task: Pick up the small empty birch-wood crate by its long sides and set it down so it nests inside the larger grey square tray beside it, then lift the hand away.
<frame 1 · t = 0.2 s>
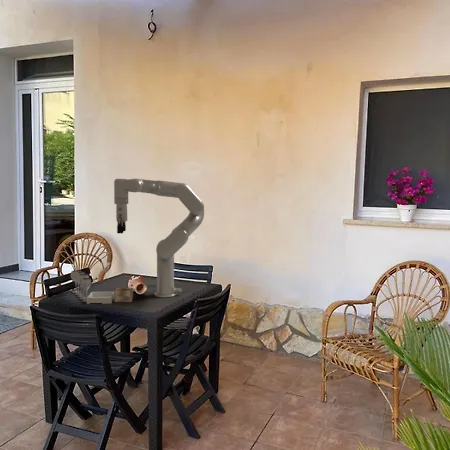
hand: (121, 232, 252), 36 cm above the table, tool pointing down, fingers open, 9 cm apart
goblet set: (81, 296, 252), on the table, touching grey square tray
grey square tray: (101, 300, 246), on the table
small crate: (123, 300, 247), on the table
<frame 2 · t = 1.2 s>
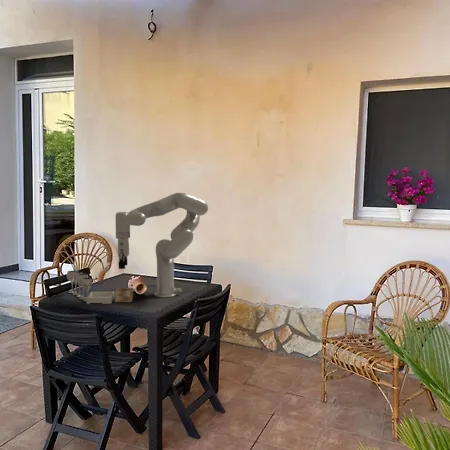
hand: (123, 266, 245), 18 cm above the table, tool pointing down, fingers open, 9 cm apart
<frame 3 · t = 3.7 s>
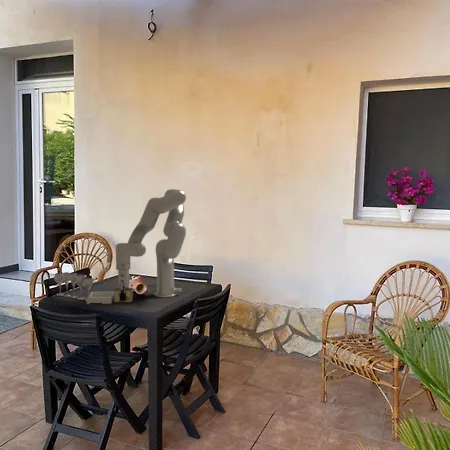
hand: (123, 298, 246), 1 cm above the table, tool pointing down, fingers closed on small crate, 6 cm apart
goblet set: (73, 297, 250), on the table, touching grey square tray
small crate: (123, 300, 247), on the table, touching gripper
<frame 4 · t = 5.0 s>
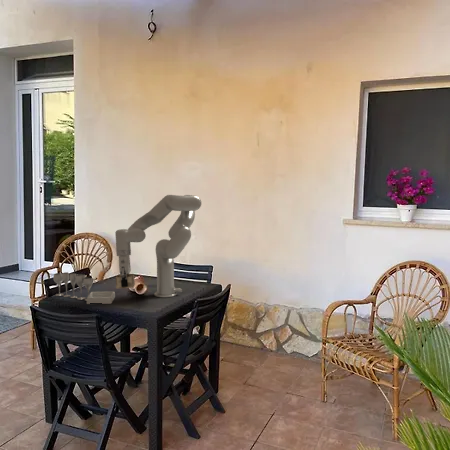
hand: (125, 284, 246), 8 cm above the table, tool pointing down, fingers closed on small crate, 6 cm apart
goblet set: (73, 297, 250), on the table, touching grey square tray
small crate: (125, 286, 246), point 7 cm above the table, touching gripper
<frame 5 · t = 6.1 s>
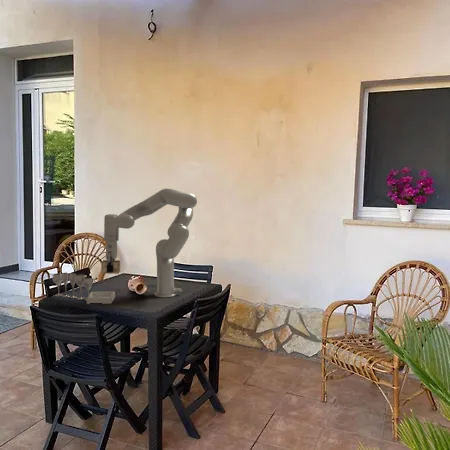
hand: (110, 270, 244), 16 cm above the table, tool pointing down, fingers closed on small crate, 6 cm apart
small crate: (110, 272, 244), point 15 cm above the table, touching gripper
everything else where it was.
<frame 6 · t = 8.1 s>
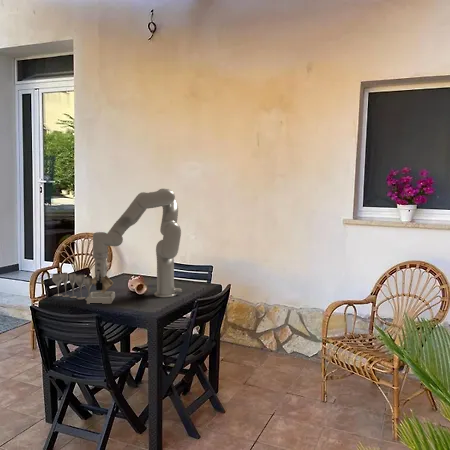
hand: (100, 288, 245), 7 cm above the table, tool pointing down, fingers closed on small crate, 6 cm apart
small crate: (98, 285, 244), point 8 cm above the table, tilted 48°, touching gripper
everything else where it was.
when the fingers open (5 cm above the table, at t = 9.0 s): small crate drops 6 cm, point 1 cm above the table.
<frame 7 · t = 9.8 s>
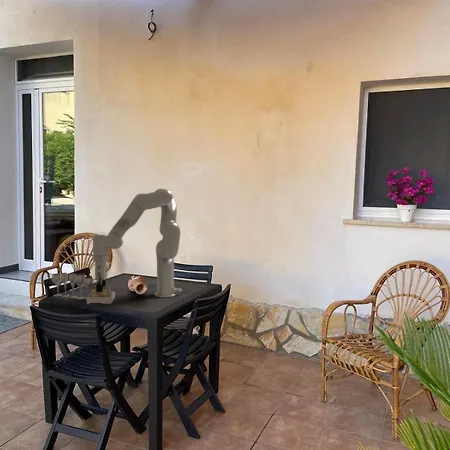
hand: (101, 289, 245), 6 cm above the table, tool pointing down, fingers open, 9 cm apart
small crate: (100, 298, 245), point 1 cm above the table
everything else where it was.
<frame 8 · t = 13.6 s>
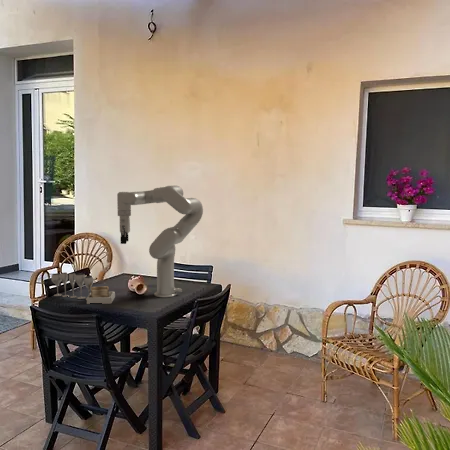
hand: (124, 242, 265), 28 cm above the table, tool pointing down, fingers open, 9 cm apart
small crate: (100, 299, 244), point 1 cm above the table, touching grey square tray
at the end: small crate 1.0 cm off-centre on the grey square tray, point 0.9 cm above the grey square tray's base; small crate tilted 2°; the gripper is holding nothing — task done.
